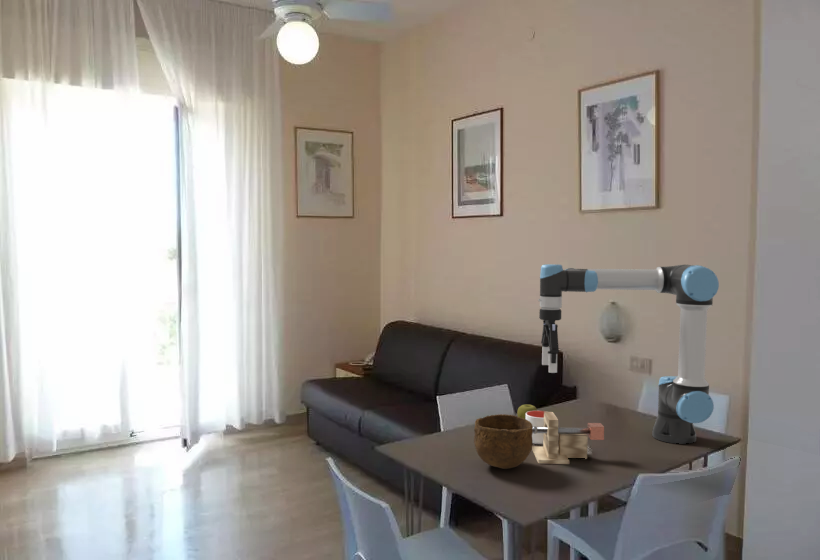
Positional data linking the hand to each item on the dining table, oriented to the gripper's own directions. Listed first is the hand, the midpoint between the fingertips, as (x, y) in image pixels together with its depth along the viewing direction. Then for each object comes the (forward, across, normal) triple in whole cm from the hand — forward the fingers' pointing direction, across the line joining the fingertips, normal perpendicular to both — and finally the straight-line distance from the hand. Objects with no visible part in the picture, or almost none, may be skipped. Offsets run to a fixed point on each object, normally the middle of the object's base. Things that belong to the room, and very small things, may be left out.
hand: (549, 368), depth 226 cm
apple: (+28, -29, -3) cm, 41 cm away
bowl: (+28, +22, -18) cm, 40 cm away
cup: (+28, -6, -2) cm, 29 cm away
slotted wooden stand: (+28, +11, +3) cm, 30 cm away
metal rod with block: (+21, +11, +4) cm, 24 cm away
